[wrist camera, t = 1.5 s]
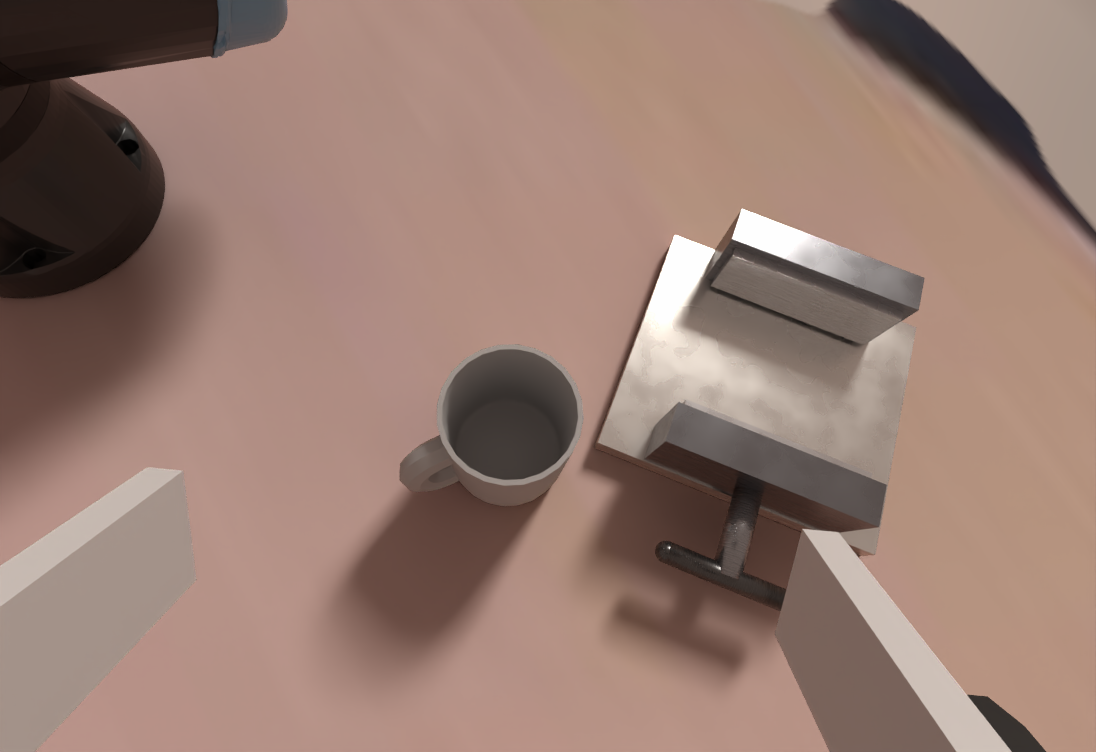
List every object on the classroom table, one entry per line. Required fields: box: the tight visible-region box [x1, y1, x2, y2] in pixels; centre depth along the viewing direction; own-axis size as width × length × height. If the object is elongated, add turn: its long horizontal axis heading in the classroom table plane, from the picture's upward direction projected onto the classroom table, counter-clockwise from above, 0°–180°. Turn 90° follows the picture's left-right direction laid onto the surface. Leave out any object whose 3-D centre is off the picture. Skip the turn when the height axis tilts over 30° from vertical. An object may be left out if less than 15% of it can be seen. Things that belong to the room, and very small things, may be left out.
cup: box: [400, 344, 583, 506], centre depth 32 cm, size 7×10×9 cm
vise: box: [594, 209, 924, 611], centre depth 36 cm, size 18×22×6 cm
